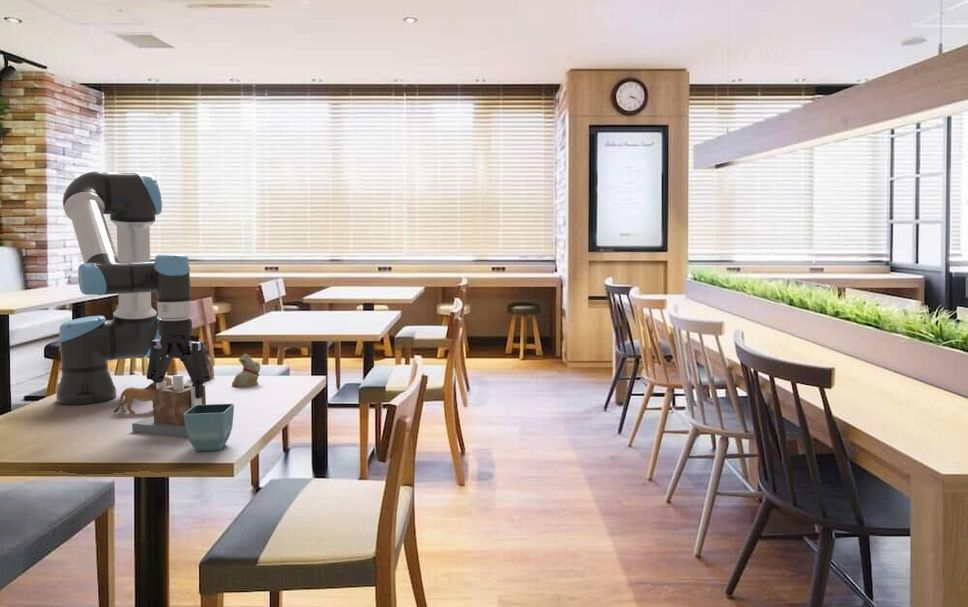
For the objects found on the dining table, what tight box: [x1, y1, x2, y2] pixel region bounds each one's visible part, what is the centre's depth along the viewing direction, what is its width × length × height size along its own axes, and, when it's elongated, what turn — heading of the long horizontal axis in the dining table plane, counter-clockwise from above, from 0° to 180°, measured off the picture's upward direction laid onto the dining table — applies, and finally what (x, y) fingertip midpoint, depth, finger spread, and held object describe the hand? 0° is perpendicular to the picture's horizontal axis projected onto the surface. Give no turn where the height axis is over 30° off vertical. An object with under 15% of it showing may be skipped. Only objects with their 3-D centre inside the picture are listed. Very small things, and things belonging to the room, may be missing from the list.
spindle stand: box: [131, 374, 188, 438], centre depth 179 cm, size 18×12×13 cm, turn 71°
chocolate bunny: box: [231, 353, 261, 388], centre depth 228 cm, size 6×8×10 cm
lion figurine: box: [113, 375, 173, 415], centre depth 196 cm, size 15×5×9 cm, turn 115°
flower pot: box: [183, 403, 235, 452], centre depth 163 cm, size 9×9×9 cm
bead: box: [152, 383, 207, 426], centre depth 179 cm, size 8×8×8 cm
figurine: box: [197, 340, 215, 380], centre depth 239 cm, size 7×7×12 cm
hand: (179, 409), depth 179 cm, fingers open, 10 cm apart
